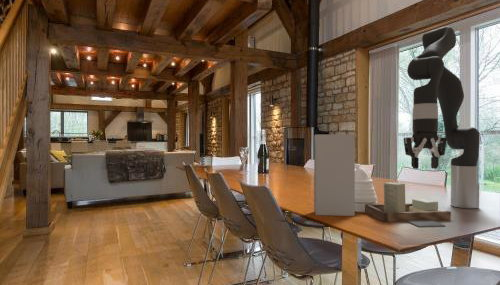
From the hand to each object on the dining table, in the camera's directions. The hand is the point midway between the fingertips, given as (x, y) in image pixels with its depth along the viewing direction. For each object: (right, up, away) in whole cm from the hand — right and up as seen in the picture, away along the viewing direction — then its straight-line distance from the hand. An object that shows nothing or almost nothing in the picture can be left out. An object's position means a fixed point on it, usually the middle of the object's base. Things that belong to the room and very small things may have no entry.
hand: (424, 168), depth 108 cm
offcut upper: (+7, -16, +12) cm, 21 cm away
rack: (-1, -18, +11) cm, 22 cm away
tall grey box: (-26, -19, +15) cm, 36 cm away
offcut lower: (+7, -19, +12) cm, 23 cm away
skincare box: (-5, -19, +11) cm, 22 cm away
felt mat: (0, -19, 0) cm, 19 cm away
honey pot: (-13, -19, +24) cm, 33 cm away
